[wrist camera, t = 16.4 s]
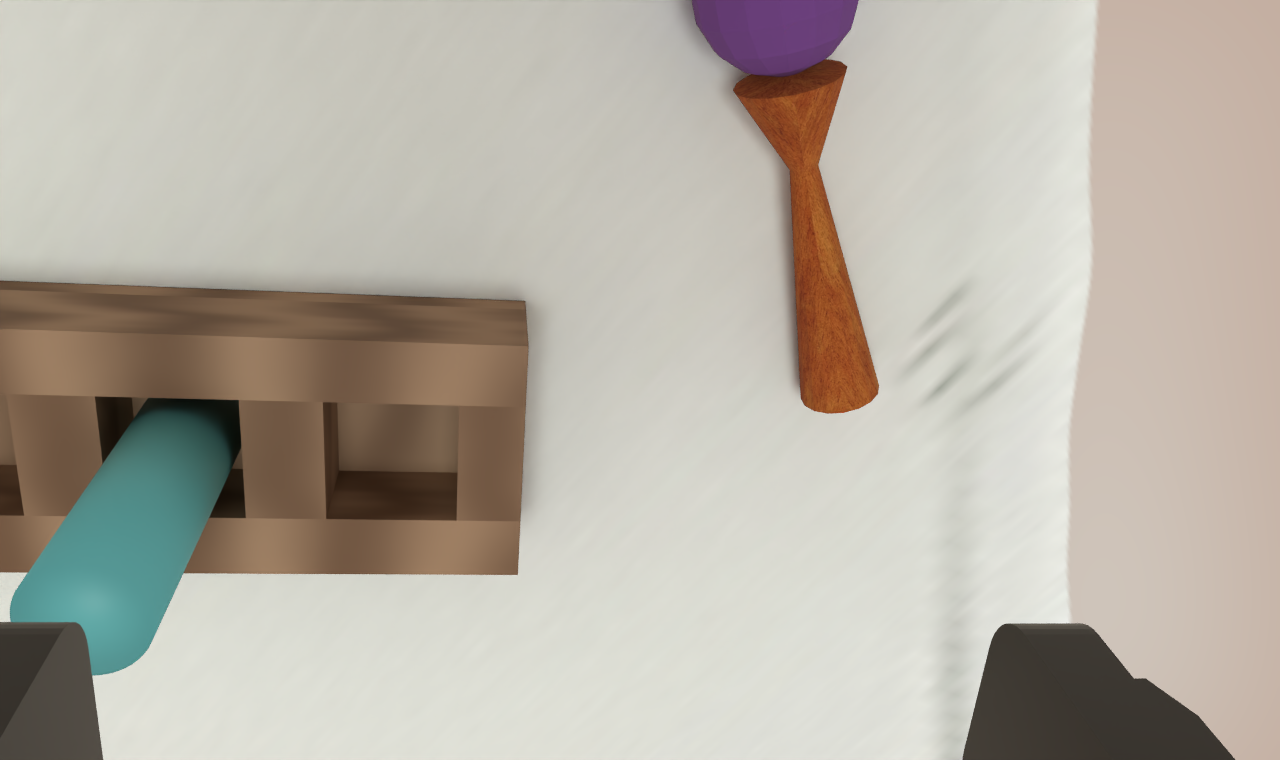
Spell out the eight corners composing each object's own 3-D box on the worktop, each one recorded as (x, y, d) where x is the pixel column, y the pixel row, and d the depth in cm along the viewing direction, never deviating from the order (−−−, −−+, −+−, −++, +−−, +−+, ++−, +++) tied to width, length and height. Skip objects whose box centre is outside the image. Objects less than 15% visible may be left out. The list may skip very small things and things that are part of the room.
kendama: (774, 441, 46) (673, -66, 37) (767, 368, 51) (677, -93, 42) (921, 418, 45) (859, -108, 36) (899, 346, 51) (839, -131, 41)
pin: (143, 367, 45) (0, 561, 32) (247, 370, 45) (148, 561, 33) (152, 457, 46) (20, 676, 34) (253, 459, 47) (161, 674, 34)
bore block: (-116, 504, 47) (-181, 571, 42) (-163, 274, 43) (-241, 320, 38) (515, 512, 51) (517, 574, 46) (525, 301, 47) (528, 346, 42)
